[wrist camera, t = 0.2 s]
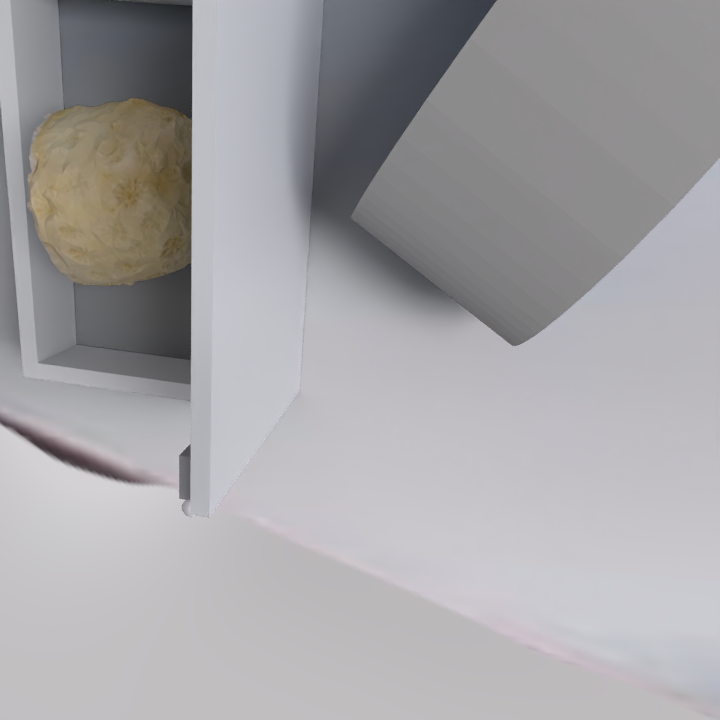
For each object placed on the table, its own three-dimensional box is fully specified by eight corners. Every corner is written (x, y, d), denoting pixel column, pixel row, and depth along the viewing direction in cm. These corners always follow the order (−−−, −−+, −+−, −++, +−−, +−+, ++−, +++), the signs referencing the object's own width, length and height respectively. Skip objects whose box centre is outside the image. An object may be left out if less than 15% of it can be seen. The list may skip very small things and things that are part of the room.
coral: (-37, 78, 30) (97, 73, 25) (140, 115, 38) (266, 118, 33) (-28, 279, 32) (97, 312, 27) (137, 272, 41) (255, 296, 36)
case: (39, -25, 34) (-255, -156, 20) (324, -7, 33) (219, -138, 18) (64, 368, 42) (-142, 475, 27) (299, 402, 40) (208, 535, 25)
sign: (503, 319, 36) (519, 374, 27) (366, 210, 36) (332, 228, 26) (781, 4, 30) (928, -68, 20) (620, -135, 29) (695, -276, 20)
